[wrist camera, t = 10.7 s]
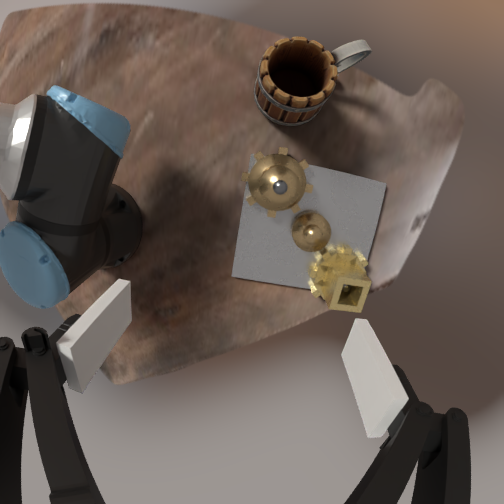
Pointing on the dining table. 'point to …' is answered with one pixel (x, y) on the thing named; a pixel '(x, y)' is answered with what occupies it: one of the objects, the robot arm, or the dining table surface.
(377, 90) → the dining table surface
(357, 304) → the gear
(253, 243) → the carrier
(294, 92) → the mug
